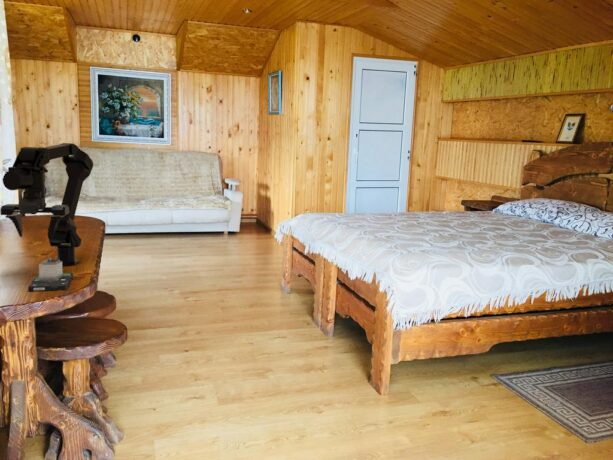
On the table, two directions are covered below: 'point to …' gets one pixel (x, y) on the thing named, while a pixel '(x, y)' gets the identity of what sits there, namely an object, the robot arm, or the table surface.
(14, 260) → the table surface
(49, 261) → the housing
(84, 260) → the table surface
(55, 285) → the disk drive
